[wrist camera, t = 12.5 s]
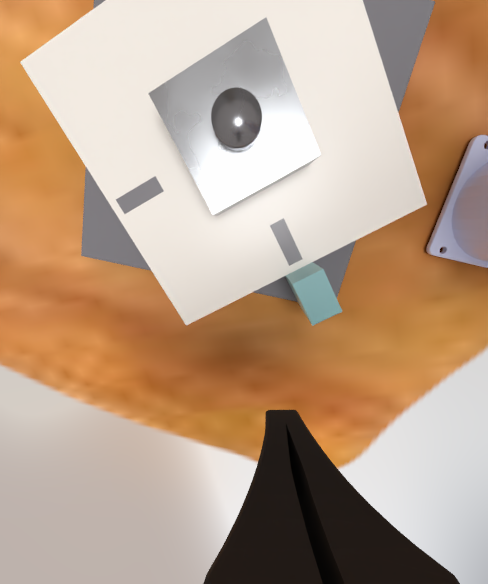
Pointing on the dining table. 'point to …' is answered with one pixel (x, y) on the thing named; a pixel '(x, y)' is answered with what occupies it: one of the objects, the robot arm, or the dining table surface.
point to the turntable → (174, 172)
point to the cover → (237, 119)
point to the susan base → (398, 66)
